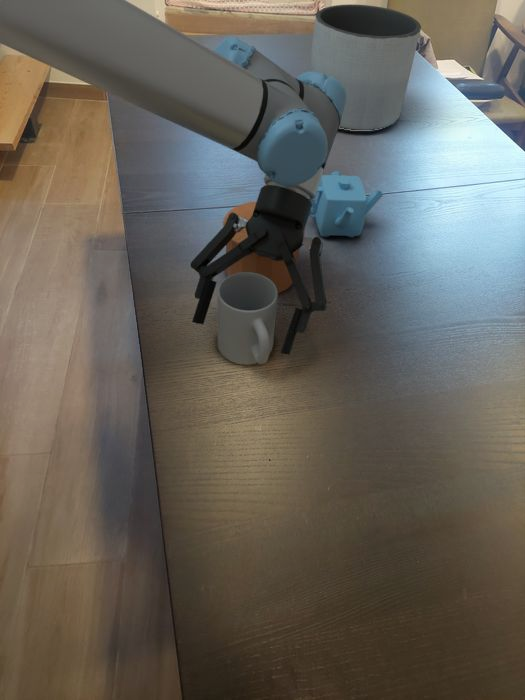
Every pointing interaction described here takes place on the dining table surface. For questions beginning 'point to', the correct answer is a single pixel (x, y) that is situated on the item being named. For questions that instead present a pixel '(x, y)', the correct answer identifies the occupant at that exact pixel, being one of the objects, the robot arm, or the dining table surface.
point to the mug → (246, 317)
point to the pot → (263, 267)
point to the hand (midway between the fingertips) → (240, 338)
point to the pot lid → (245, 213)
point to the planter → (366, 60)
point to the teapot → (342, 205)
